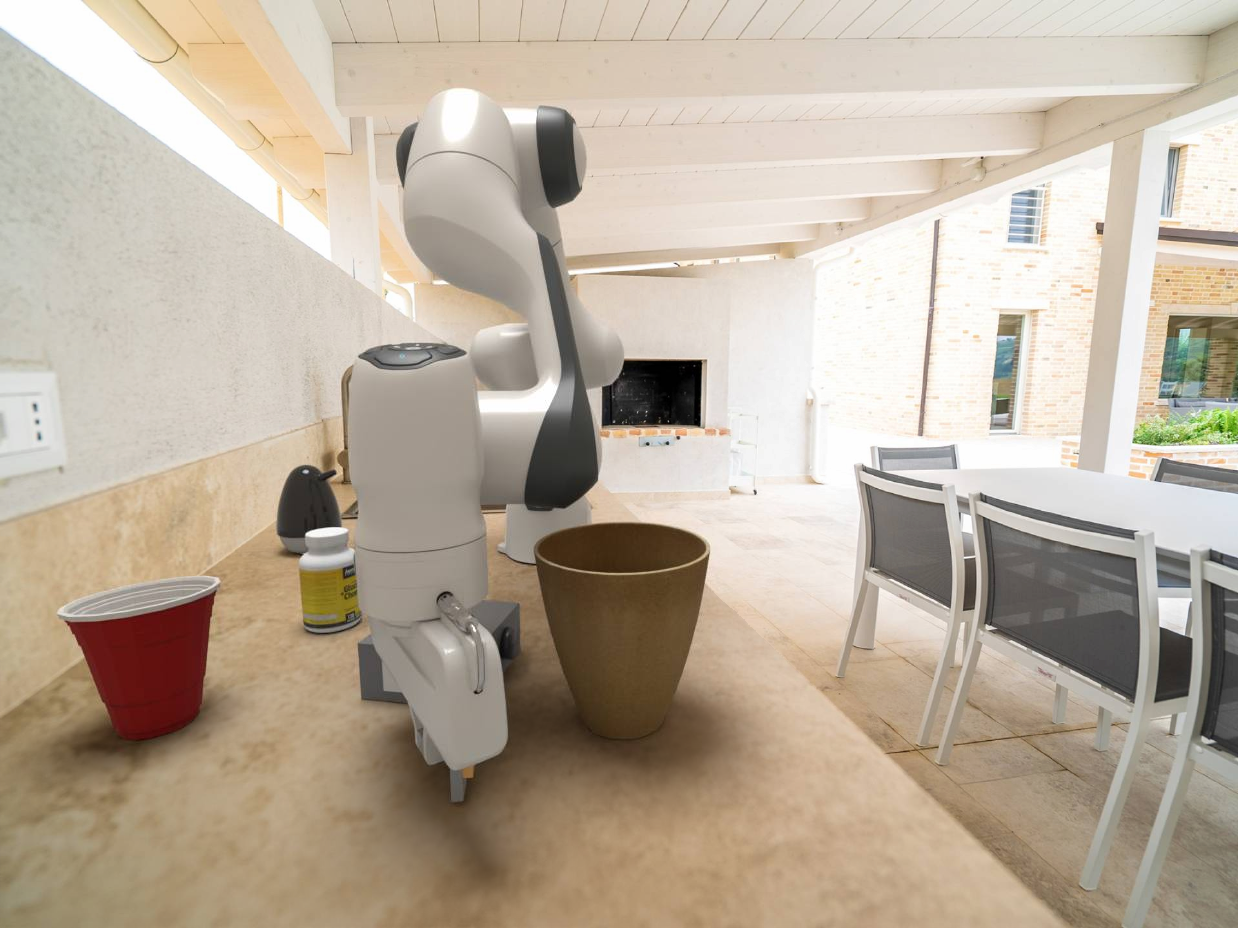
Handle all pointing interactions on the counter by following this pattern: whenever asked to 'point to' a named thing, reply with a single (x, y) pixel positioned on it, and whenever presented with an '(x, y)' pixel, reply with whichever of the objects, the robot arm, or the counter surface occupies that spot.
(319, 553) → the pill bottle
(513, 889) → the counter surface
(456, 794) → the side door
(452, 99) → the robot arm
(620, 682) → the plant pot
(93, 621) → the plastic cup
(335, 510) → the pump dispenser
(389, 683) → the box
